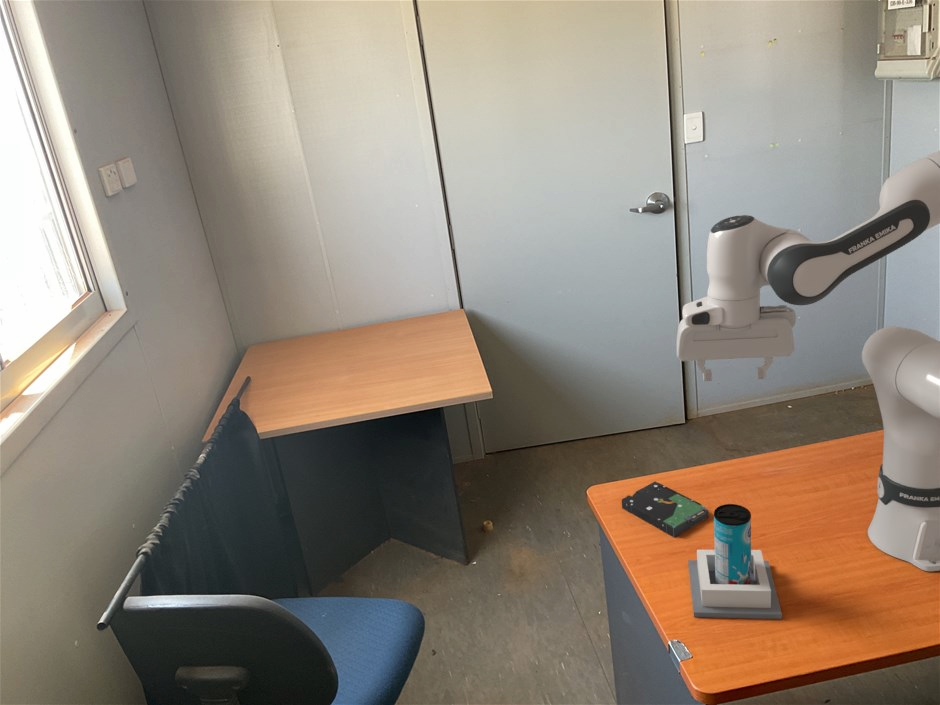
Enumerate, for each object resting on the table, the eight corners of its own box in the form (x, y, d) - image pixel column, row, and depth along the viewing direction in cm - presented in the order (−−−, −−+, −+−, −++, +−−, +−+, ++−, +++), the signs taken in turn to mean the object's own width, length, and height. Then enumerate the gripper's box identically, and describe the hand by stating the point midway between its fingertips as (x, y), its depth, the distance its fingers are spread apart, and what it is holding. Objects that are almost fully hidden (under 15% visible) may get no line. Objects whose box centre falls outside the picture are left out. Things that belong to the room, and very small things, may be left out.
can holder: (768, 565, 140) (768, 544, 138) (781, 619, 127) (782, 597, 125) (688, 564, 143) (687, 544, 141) (694, 617, 130) (693, 595, 129)
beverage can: (747, 600, 131) (747, 526, 125) (712, 593, 134) (710, 520, 128) (754, 579, 135) (754, 507, 130) (719, 572, 138) (718, 501, 133)
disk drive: (621, 511, 163) (675, 540, 151) (620, 499, 162) (674, 528, 150) (655, 491, 168) (710, 518, 156) (654, 480, 167) (709, 506, 155)
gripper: (792, 298, 137) (791, 369, 142) (674, 306, 142) (677, 374, 147) (799, 310, 132) (797, 383, 137) (676, 317, 136) (678, 388, 141)
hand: (734, 378), depth 142 cm, fingers open, 8 cm apart
